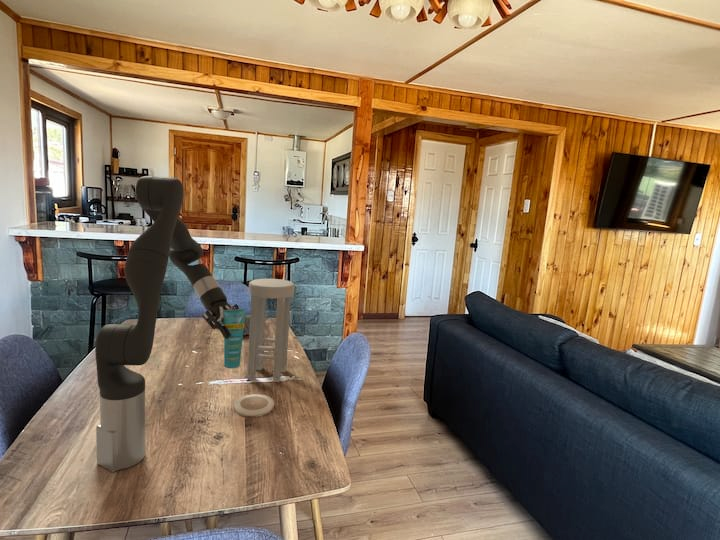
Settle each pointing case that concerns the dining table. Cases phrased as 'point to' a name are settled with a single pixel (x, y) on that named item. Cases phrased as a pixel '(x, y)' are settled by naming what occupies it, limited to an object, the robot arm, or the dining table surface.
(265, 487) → the dining table surface
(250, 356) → the stool
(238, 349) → the tube
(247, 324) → the mineral rock
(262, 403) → the coaster
